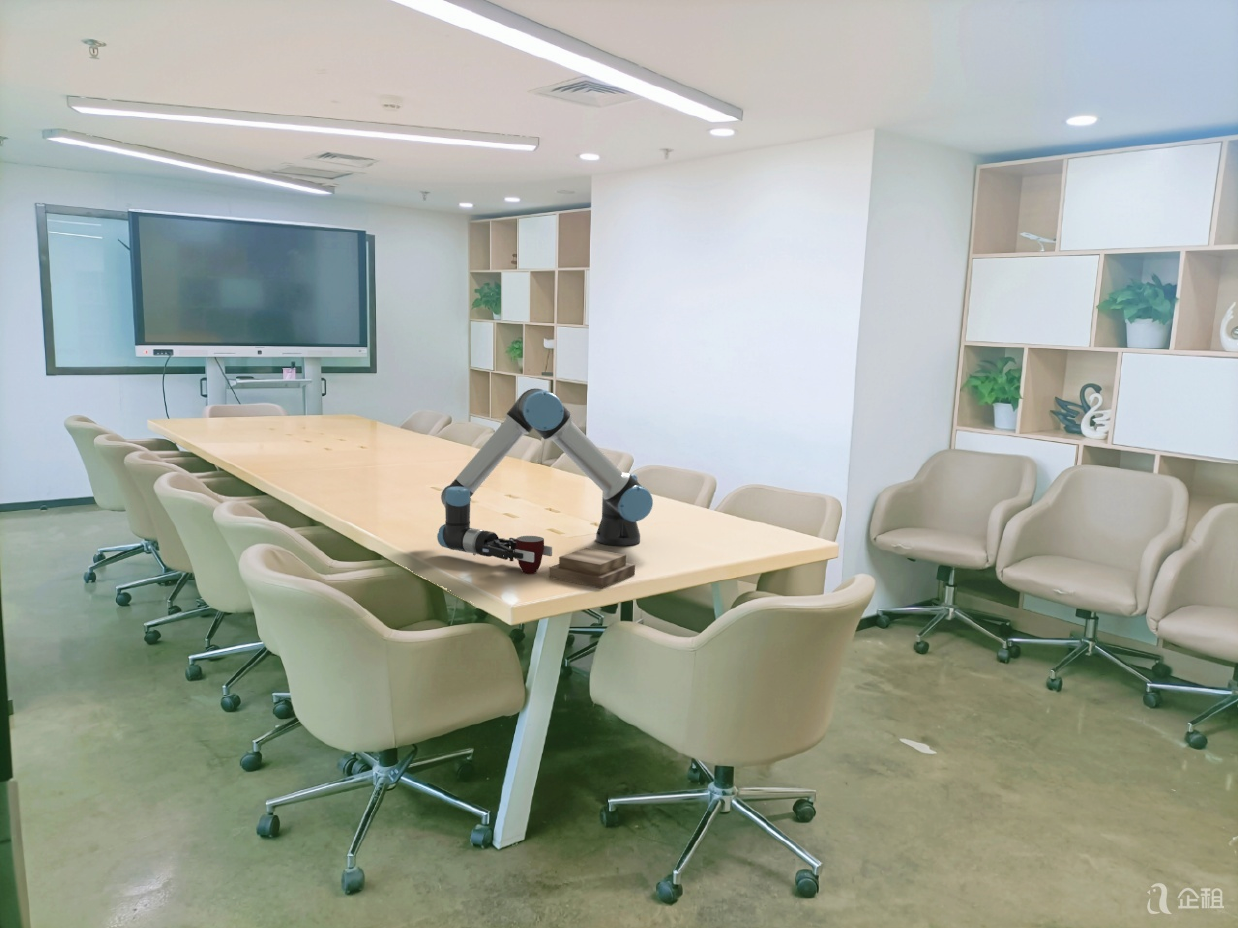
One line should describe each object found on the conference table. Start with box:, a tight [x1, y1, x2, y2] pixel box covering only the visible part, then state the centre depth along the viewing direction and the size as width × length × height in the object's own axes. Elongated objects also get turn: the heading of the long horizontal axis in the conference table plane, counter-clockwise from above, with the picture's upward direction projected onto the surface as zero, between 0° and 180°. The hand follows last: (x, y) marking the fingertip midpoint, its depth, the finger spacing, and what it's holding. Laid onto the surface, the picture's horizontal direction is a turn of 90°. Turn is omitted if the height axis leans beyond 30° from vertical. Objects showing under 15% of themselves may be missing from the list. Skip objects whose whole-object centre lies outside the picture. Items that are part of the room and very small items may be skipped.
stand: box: [548, 547, 636, 589], centre depth 251 cm, size 18×18×6 cm
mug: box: [514, 535, 545, 575], centre depth 253 cm, size 11×8×10 cm
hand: (542, 554), depth 250 cm, fingers closed on mug, 8 cm apart
